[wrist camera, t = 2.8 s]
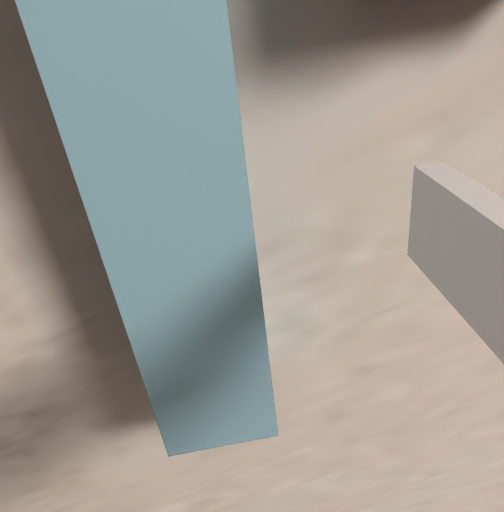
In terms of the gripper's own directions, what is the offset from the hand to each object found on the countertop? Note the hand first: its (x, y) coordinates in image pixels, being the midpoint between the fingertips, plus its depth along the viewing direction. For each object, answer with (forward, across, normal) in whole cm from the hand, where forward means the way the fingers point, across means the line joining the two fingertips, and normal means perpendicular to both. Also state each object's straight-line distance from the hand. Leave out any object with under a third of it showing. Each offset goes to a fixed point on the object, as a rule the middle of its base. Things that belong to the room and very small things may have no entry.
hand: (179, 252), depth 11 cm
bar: (+7, 0, 0) cm, 7 cm away
